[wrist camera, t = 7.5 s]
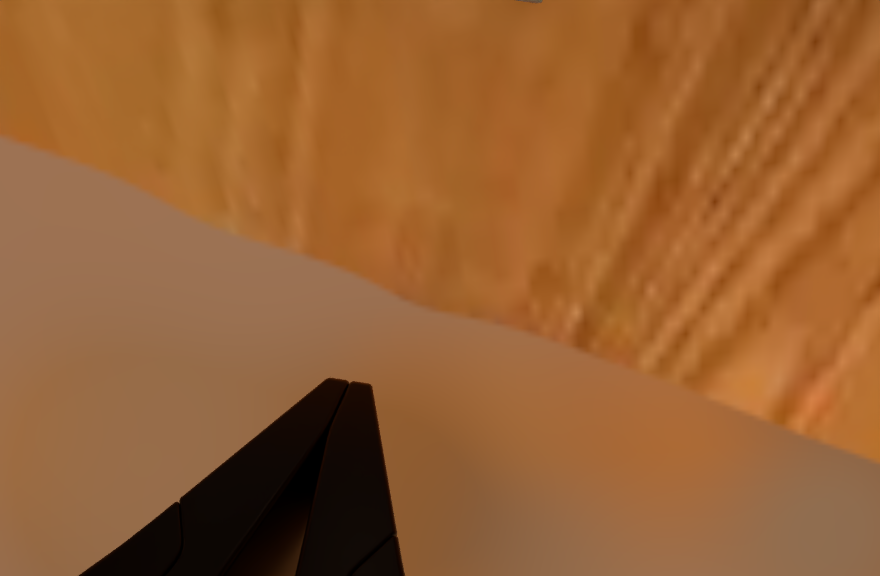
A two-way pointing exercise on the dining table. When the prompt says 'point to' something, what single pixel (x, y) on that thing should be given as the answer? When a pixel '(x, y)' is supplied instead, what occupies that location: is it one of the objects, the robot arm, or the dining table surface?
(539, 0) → the rack
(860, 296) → the dining table surface
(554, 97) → the dining table surface
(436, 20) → the dining table surface
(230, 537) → the robot arm
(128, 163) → the dining table surface
